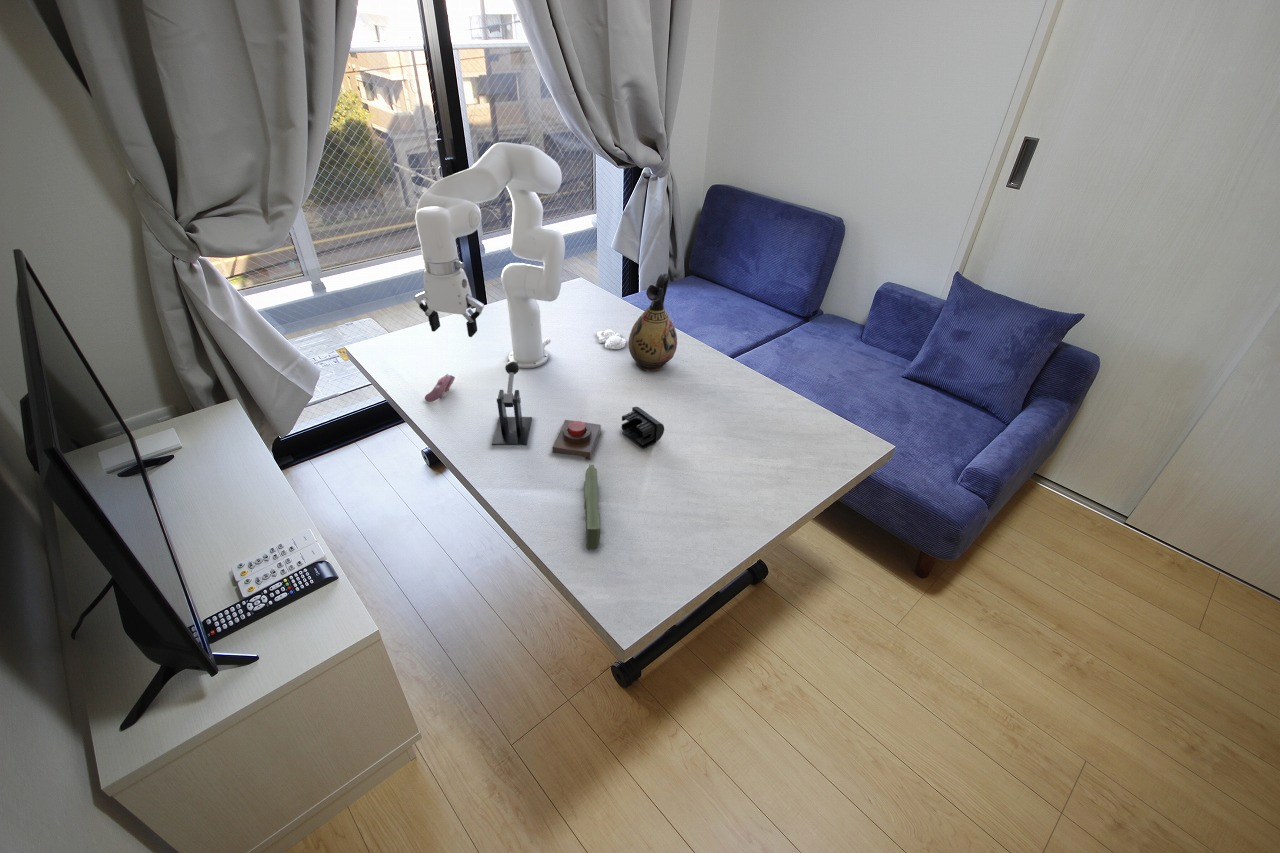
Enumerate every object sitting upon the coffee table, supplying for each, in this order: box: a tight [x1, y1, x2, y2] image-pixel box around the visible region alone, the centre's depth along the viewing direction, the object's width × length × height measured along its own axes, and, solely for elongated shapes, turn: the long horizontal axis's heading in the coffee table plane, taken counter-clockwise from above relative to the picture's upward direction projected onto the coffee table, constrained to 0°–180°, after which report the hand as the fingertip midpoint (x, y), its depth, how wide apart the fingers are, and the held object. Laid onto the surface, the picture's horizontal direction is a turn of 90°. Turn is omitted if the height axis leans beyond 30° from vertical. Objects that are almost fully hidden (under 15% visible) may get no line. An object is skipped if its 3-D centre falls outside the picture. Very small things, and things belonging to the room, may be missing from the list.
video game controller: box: [424, 373, 456, 403], centre depth 164 cm, size 10×5×7 cm, turn 168°
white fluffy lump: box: [596, 329, 627, 350], centre depth 194 cm, size 9×12×3 cm
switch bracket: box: [491, 389, 533, 446], centre depth 149 cm, size 12×9×13 cm
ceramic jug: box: [627, 272, 678, 373], centre depth 176 cm, size 17×15×30 cm
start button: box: [568, 420, 585, 436], centre depth 148 cm, size 4×4×2 cm
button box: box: [551, 419, 602, 461], centre depth 150 cm, size 12×10×4 cm
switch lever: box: [503, 361, 520, 408], centre depth 149 cm, size 13×4×4 cm, turn 3°
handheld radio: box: [583, 463, 601, 551], centre depth 131 cm, size 7×3×25 cm
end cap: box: [621, 406, 665, 450], centre depth 153 cm, size 10×7×7 cm
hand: (454, 331), depth 139 cm, fingers open, 9 cm apart
